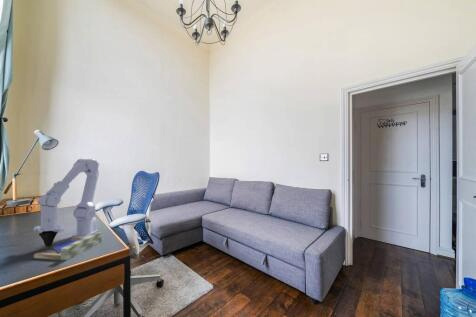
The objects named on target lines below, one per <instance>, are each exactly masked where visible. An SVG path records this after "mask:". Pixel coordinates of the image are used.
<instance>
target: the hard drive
mask: <svg viewBox="0 0 476 317" xmlns="http://www.w3.org/2000/svg"><path fill="white" fill-rule="evenodd" d="M74 242H76V241H74V240H73V241H71V240H68V241H66V242H63V243H59V244H55V245H52V247H53V249H54V250H55V251H57V252H58V254H61V248H63V247H65V246H67V245H70V244H72V243H74Z"/></svg>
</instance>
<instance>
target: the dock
mask: <svg viewBox="0 0 476 317" xmlns="http://www.w3.org/2000/svg"><path fill="white" fill-rule="evenodd" d="M73 240H74V241H75V242H74V243H72V244H70V245H67V246H65V247H63V248H61V254H60V253H55V252H53V253H52V252H39V251H38V252H36V253H34V254H33V258H34V259H43V260H60V261H69V260H70V259H72V258H74V257H76V256H78V255H79V254H81V253H83V252H86V251H87V250H88V249H90V248H92V247H94V246H96V245H98V244H100V243H101V242H102V231H97V232H95V233H93V234H91V235H89V236H86V237H72V236H71V240H70V241H73Z"/></svg>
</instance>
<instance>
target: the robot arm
mask: <svg viewBox="0 0 476 317" xmlns="http://www.w3.org/2000/svg"><path fill="white" fill-rule="evenodd" d="M99 166H100V163H99V162H98V161H97V160H96V159H95V158H79V159H77V160H76V161H75V162H74V163H73V165H72V167H71V169H70V170H69V171H68V172H67V173H66V175H65V176H64V177H63V179H62V180H60V181H56V182H54V183H53V186H52V187H51V188H50V189H49V190H47V191H46V193H45V194H42V195H41V196H40V197H39V199H38V200H37V204H38V205H39V206H40V225H37V226H35V227H33V232H40V233H38V236H39V237H40V238H41V240H43V243H44V246H45V247H47V248H49V247H52V246H53V243H54V240H55V238H56V236H57V235H58V233H63V232H65V227H64V226H61V225H60V226H59V225H58V205H59V204H60V202H61V198H62V196H63V195H64V194H65V193H66V192H67V191H68V189H69V188H70V184H71V182H72V181H73V180H74V179H75V178H76V177H77V176H78V175H79V174H81V173H84V174H85V175H86V178H85V183H84V187H83V192H82V195H81V199H80V200H81V201H80V202H79V203H78V204H76V207H75V209H73V210H74V211H73V215H72V216H73V217H74V218H75V220H76V233H75V234H73V235H72V236H71V238H72V237H87V236H89V235H91V234H93V233H95V232H99V230H98V219H97V218H96V217H95V216H96V214H97V213H96V212H97V211H96V205H95V204H94V197H95V194H96V188H97V184H98V179H99V175H100V171H99Z"/></svg>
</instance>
